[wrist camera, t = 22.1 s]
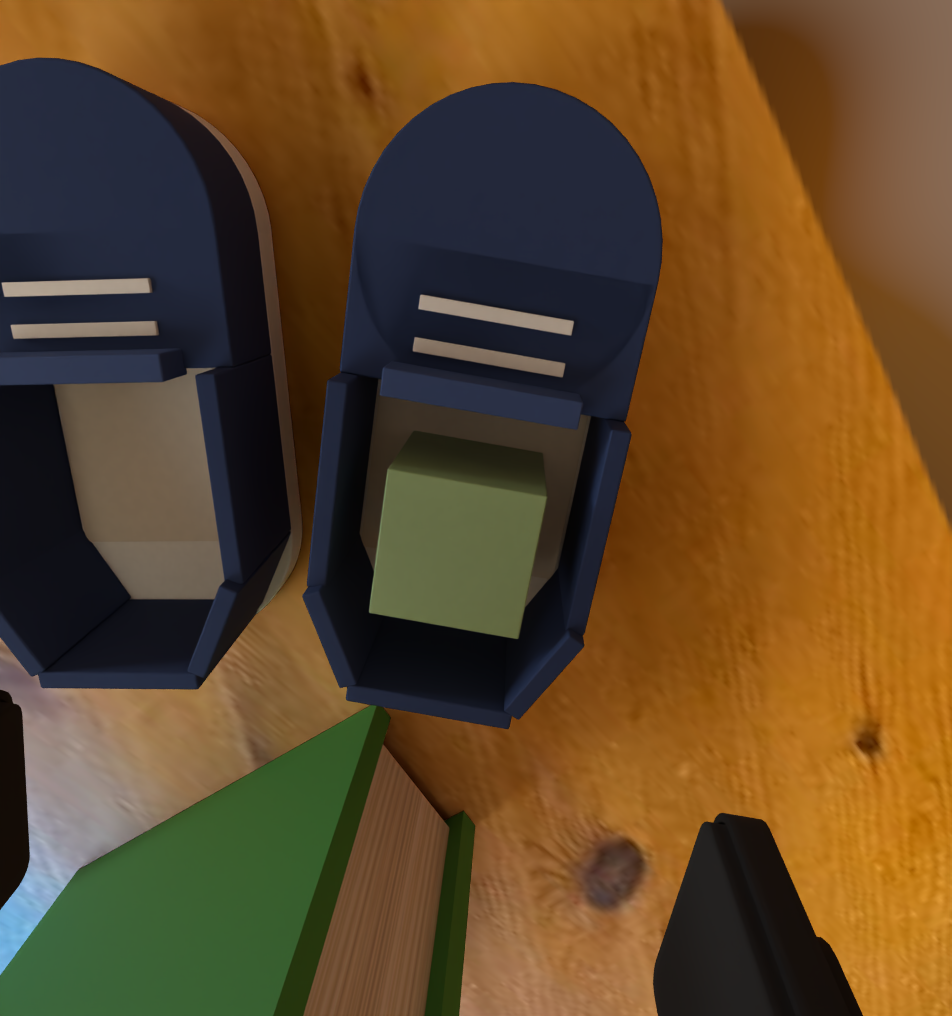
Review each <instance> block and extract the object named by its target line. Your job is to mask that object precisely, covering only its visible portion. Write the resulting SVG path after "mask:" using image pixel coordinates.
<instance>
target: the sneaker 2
mask: <svg viewBox="0 0 952 1016" xmlns="http://www.w3.org/2000/svg"><path fill="white" fill-rule="evenodd" d="M662 243H663V239H662V227H661V217H660V212H659V208H658V203H657V198H656V195H655V192H654V189H653V186H652V184H651V181H650V178H649V175H648V173H647V172H646V170H645V168H644V166H643V164H642V162H641V160H640V158H639V156H638V155H637V153H636V152H635V150H634V149H633V148H632V146H631V145H630V143H629V142H628V140H627V139H626V138H625V137H624V136H623V135H622V133H621V132H620V131H619V130H618V129H617V128H616V127H615V126H614V125H613V124H612V123H611V122H610V121H609V120H608V119H606V118H605V117H604V116H603V115H601V114H600V113H599V112H598V111H597V110H595V109H594V108H592V107H590V106H589V105H587V104H585V103H584V102H582V101H580V100H579V99H577V98H575V97H573V96H570V95H568V94H566V93H563V92H561V91H558V90H556V89H552V88H548V87H544V86H540V85H536V84H527V83H516V82H508V83H491V84H486V85H481V86H476V87H471V88H468V89H465V90H463V91H460V92H457V93H454V94H451V95H449V96H447V97H445V98H443V99H442V100H440V101H438V102H436V103H434V104H432V105H430V106H429V107H428V108H426V109H425V110H424V111H422V112H421V113H419V114H418V115H417V116H415V117H414V118H413V119H412V120H411V121H410V122H409V123H407V124H406V125H405V126H404V127H403V128H402V129H401V130H400V131H399V132H398V133H397V134H396V136H395V137H394V138H393V139H392V141H391V142H390V143H389V144H388V146H387V147H386V148H385V149H384V151H383V152H382V154H381V156H380V157H379V159H378V161H377V162H376V164H375V166H374V167H373V169H372V171H371V174H370V176H369V178H368V180H367V183H366V185H365V187H364V190H363V193H362V197H361V200H360V204H359V207H358V211H357V217H356V223H355V229H354V239H353V248H352V258H351V267H350V277H349V286H348V296H347V305H346V315H345V324H344V333H343V343H342V352H341V362H340V372H341V373H339V374H337V375H336V376H334V377H332V378H331V379H329V380H328V381H327V389H326V399H325V409H324V419H323V429H322V439H321V449H320V459H319V469H318V479H317V489H316V499H315V508H314V518H313V528H312V538H311V548H310V558H309V568H308V578H307V586H308V588H307V589H306V591H305V592H304V594H303V600H304V602H305V604H306V607H307V609H308V612H309V614H310V617H311V619H312V621H313V624H314V626H315V629H316V631H317V634H318V636H319V639H320V641H321V643H322V646H323V648H324V651H325V653H326V656H327V658H328V660H329V663H330V665H331V668H332V670H333V673H334V675H335V678H336V680H337V682H338V685H339V687H340V688H343V687H347V694H346V700H347V701H352V702H358V703H363V704H369V705H375V706H380V707H386V708H391V709H397V710H403V711H408V712H414V713H419V714H425V715H431V716H436V717H442V718H448V719H453V720H459V721H464V722H470V723H476V724H481V725H487V726H492V727H498V728H504V729H509V727H510V722H511V718H512V716H513V717H515V718H516V719H518V720H519V719H520V718H521V717H522V716H523V714H524V713H525V712H526V711H527V710H528V709H529V708H530V707H531V706H532V704H533V703H534V702H535V701H536V700H537V699H538V698H539V697H540V695H541V694H542V693H543V692H544V691H545V690H546V689H547V688H548V686H549V685H550V684H551V683H552V682H553V681H554V680H555V679H556V677H557V676H558V675H559V674H560V673H561V672H562V671H563V670H564V668H565V667H566V666H567V665H568V664H569V663H570V662H571V661H572V660H573V658H574V657H575V656H576V655H577V654H578V653H579V652H580V651H581V649H582V648H583V647H584V640H583V635H584V633H585V629H586V625H587V621H588V617H589V612H590V608H591V604H592V600H593V596H594V591H595V587H596V583H597V579H598V574H599V570H600V566H601V562H602V558H603V553H604V549H605V545H606V541H607V537H608V532H609V528H610V524H611V520H612V515H613V511H614V507H615V503H616V499H617V494H618V490H619V486H620V482H621V478H622V473H623V469H624V465H625V461H626V456H627V452H628V448H629V444H630V440H631V435H632V434H631V432H630V430H629V429H628V427H627V426H626V424H625V423H624V421H626V418H627V414H628V410H629V405H630V401H631V397H632V392H633V388H634V384H635V380H636V375H637V371H638V367H639V362H640V358H641V354H642V350H643V345H644V341H645V337H646V332H647V328H648V324H649V320H650V315H651V311H652V307H653V302H654V298H655V294H656V290H657V285H658V281H659V275H660V269H661V263H662ZM413 431H421V432H426V433H432V434H438V435H444V436H449V437H455V438H461V439H466V440H472V441H478V442H483V443H489V444H495V445H500V446H506V447H512V448H517V449H523V450H529V451H534V452H540V453H543V460H544V469H545V479H546V488H547V503H546V508H545V513H544V518H543V522H542V527H541V532H540V537H539V542H538V547H537V551H536V556H535V561H534V566H533V571H532V576H531V581H530V585H529V590H528V595H527V600H526V605H525V610H524V615H523V619H522V624H521V629H520V634H519V638H518V639H514V638H508V637H503V636H497V635H492V634H486V633H480V632H475V631H469V630H463V629H458V628H452V627H446V626H441V625H435V624H430V623H424V622H418V621H413V620H407V619H401V618H396V617H390V616H385V615H379V614H373V613H369V606H370V599H371V591H372V583H373V576H374V568H375V561H376V553H377V546H378V538H379V530H380V523H381V515H382V508H383V500H384V492H385V485H386V477H387V470H388V468H389V467H390V465H391V464H392V462H393V461H394V459H395V458H396V456H397V455H398V453H399V452H400V450H401V449H402V447H403V446H404V444H405V443H406V441H407V440H408V438H409V437H410V435H411V434H412V432H413Z"/></svg>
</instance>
